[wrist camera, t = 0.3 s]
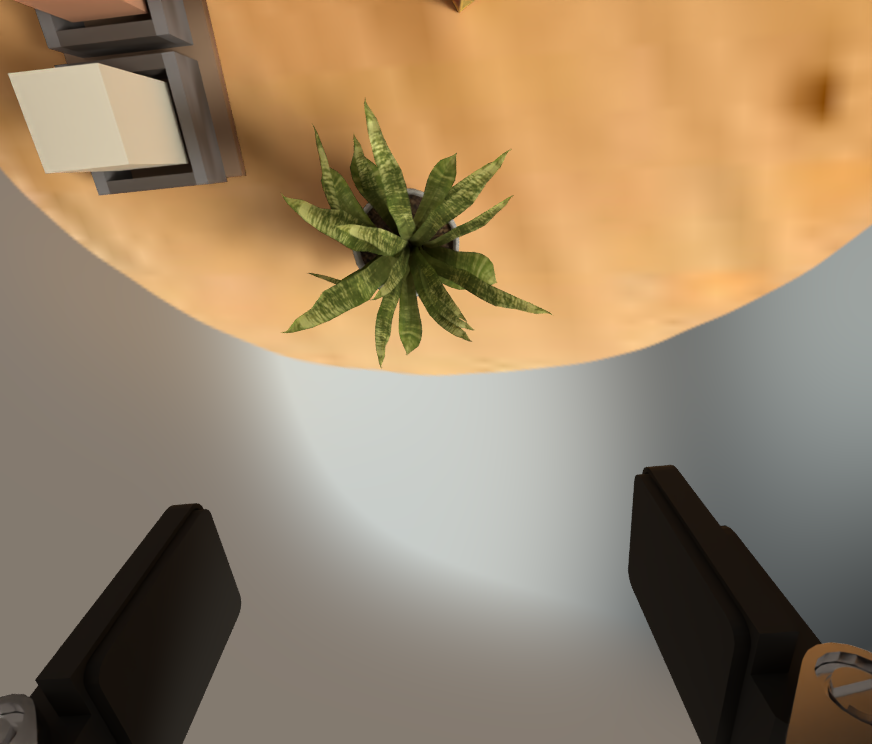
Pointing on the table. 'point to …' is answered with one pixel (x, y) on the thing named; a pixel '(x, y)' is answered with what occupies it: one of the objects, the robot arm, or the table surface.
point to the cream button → (99, 119)
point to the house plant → (402, 243)
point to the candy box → (461, 4)
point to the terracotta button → (88, 8)
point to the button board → (170, 62)
